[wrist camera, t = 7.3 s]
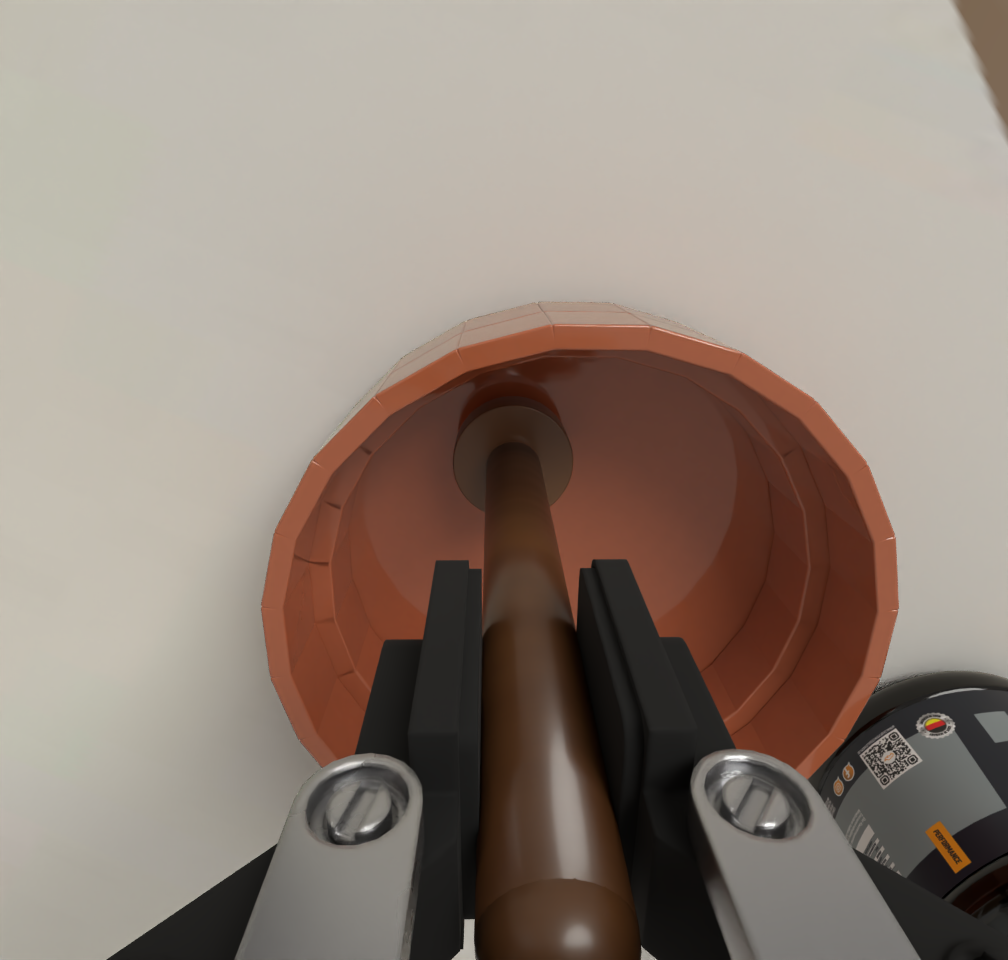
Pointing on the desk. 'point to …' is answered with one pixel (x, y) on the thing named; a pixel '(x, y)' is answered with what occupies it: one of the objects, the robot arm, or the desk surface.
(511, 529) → the flanged wooden peg
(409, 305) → the desk surface
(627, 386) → the bowl
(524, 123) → the desk surface
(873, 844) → the supplement container
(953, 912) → the robot arm
